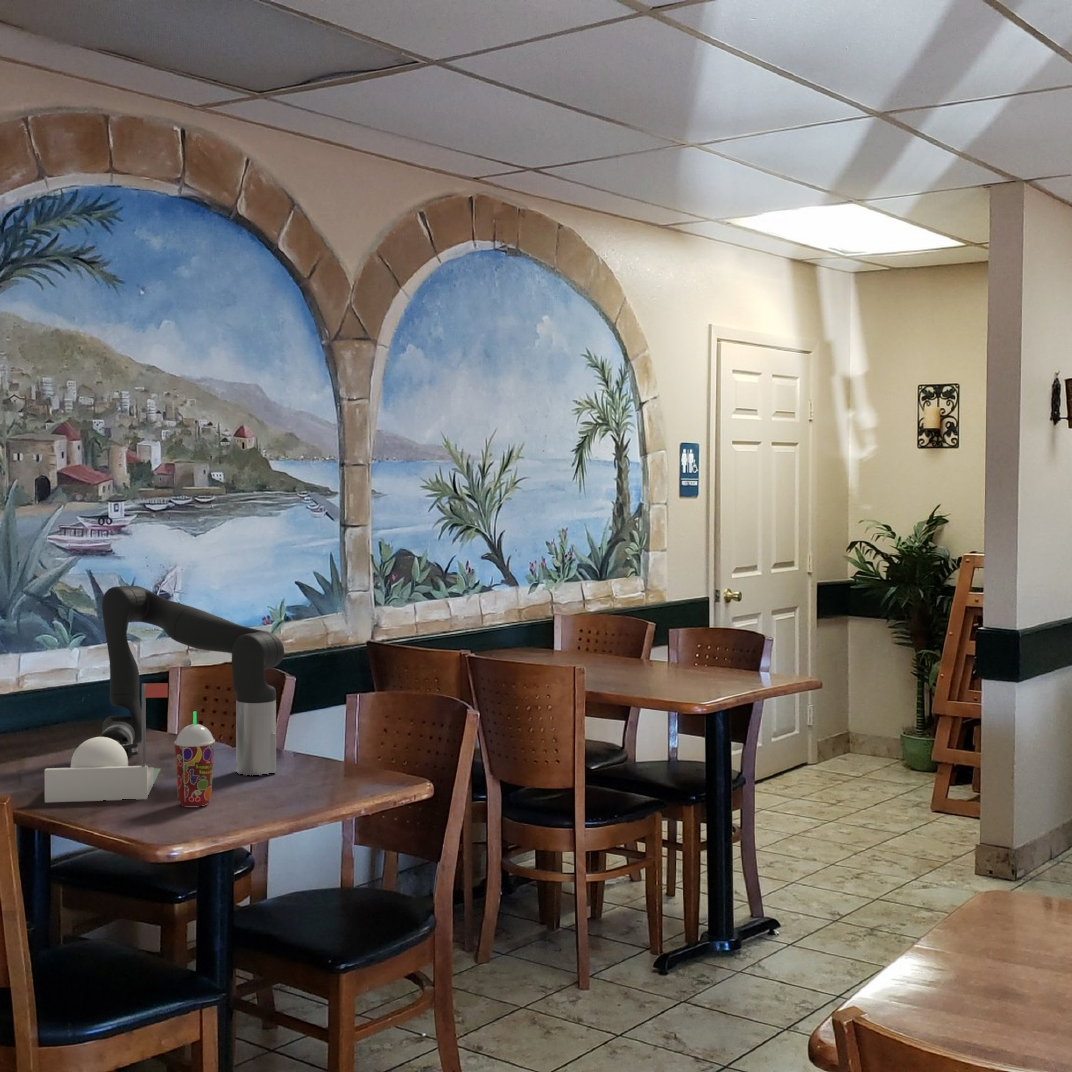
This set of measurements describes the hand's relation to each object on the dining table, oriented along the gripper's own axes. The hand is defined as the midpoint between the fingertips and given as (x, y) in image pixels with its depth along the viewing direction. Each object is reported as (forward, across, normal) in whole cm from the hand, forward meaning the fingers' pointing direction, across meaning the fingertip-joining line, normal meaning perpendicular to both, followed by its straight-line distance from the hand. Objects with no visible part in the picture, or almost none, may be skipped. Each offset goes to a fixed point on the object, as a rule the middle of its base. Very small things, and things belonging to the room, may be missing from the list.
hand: (104, 757), depth 290 cm
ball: (+6, 0, 0) cm, 6 cm away
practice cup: (-1, +2, +6) cm, 7 cm away
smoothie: (+20, +21, +7) cm, 30 cm away
